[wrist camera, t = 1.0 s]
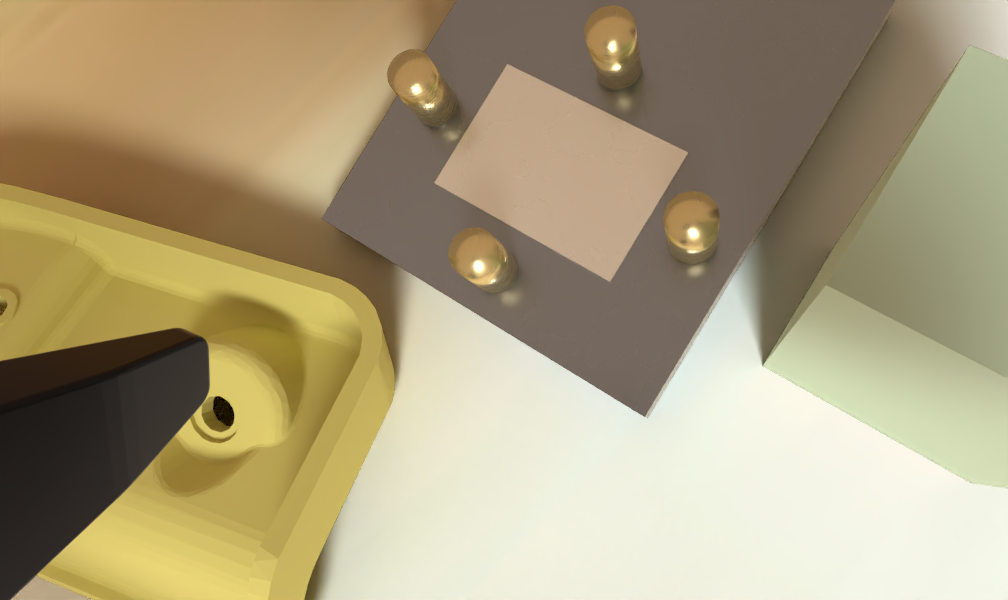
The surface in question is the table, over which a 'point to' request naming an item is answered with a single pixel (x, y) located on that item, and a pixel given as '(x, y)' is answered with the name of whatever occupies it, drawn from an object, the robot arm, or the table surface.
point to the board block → (923, 289)
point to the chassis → (599, 164)
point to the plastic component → (233, 375)
